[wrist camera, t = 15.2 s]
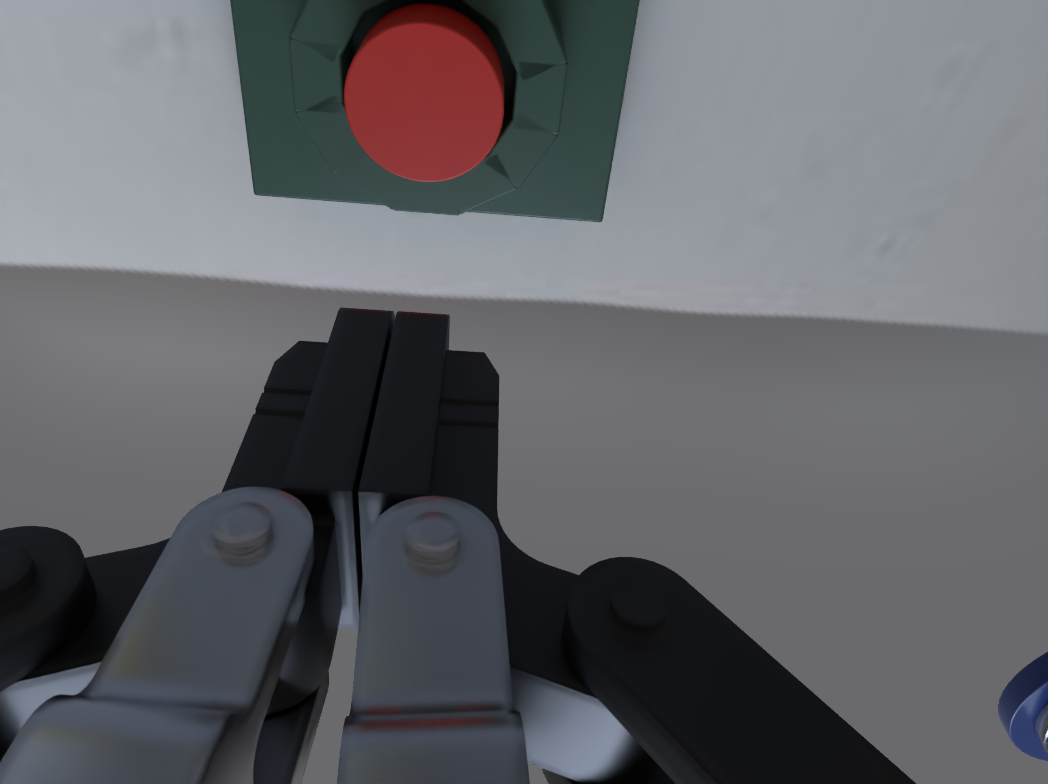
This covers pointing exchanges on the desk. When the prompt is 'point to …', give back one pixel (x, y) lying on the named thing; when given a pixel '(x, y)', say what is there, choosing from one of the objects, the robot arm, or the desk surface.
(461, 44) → the button
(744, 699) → the robot arm
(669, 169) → the desk surface
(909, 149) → the desk surface
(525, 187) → the button box
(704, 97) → the desk surface
